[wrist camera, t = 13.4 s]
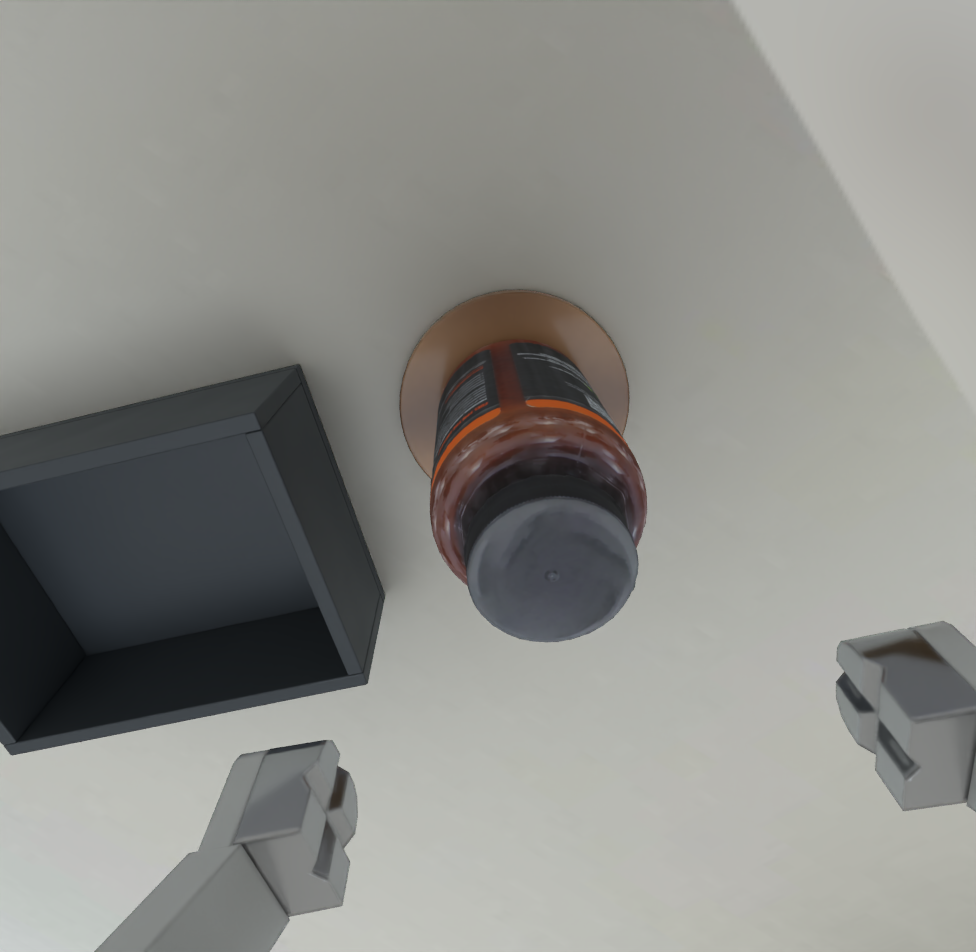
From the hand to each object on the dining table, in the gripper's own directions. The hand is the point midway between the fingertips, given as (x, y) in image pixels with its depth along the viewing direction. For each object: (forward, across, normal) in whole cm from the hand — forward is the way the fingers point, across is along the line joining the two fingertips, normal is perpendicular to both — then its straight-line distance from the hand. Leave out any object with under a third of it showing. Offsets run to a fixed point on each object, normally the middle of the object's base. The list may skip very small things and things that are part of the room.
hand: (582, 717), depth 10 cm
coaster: (+16, 0, 0) cm, 16 cm away
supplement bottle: (+16, 0, 0) cm, 16 cm away
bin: (+16, +15, +2) cm, 22 cm away
